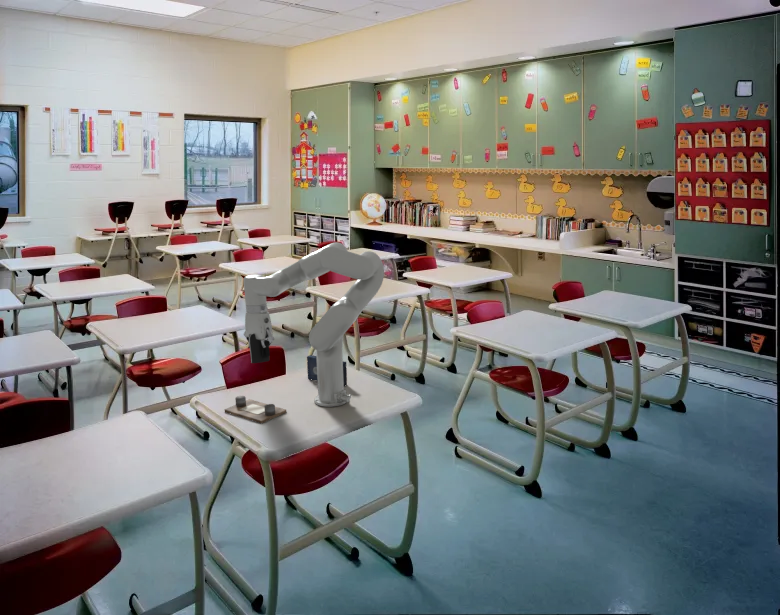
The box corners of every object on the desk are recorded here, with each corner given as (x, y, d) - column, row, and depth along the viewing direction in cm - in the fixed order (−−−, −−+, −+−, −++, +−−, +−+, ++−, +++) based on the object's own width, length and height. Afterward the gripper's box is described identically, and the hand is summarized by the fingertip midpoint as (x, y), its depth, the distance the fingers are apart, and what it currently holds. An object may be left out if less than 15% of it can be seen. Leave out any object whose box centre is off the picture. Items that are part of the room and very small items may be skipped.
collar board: (286, 412, 229) (285, 401, 228) (261, 423, 219) (261, 412, 218) (249, 401, 239) (249, 391, 238) (224, 412, 230) (223, 401, 229)
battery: (267, 358, 242) (265, 329, 240) (270, 361, 239) (268, 331, 236) (249, 361, 239) (247, 332, 237) (251, 364, 236) (249, 334, 234)
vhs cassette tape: (347, 385, 255) (346, 361, 253) (343, 387, 253) (342, 363, 250) (312, 377, 265) (311, 354, 263) (307, 379, 262) (306, 356, 260)
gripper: (280, 309, 233) (283, 356, 237) (248, 304, 242) (251, 350, 246) (265, 313, 227) (269, 362, 231) (232, 308, 236) (236, 355, 240)
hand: (260, 355), depth 239 cm, fingers closed on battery, 5 cm apart
